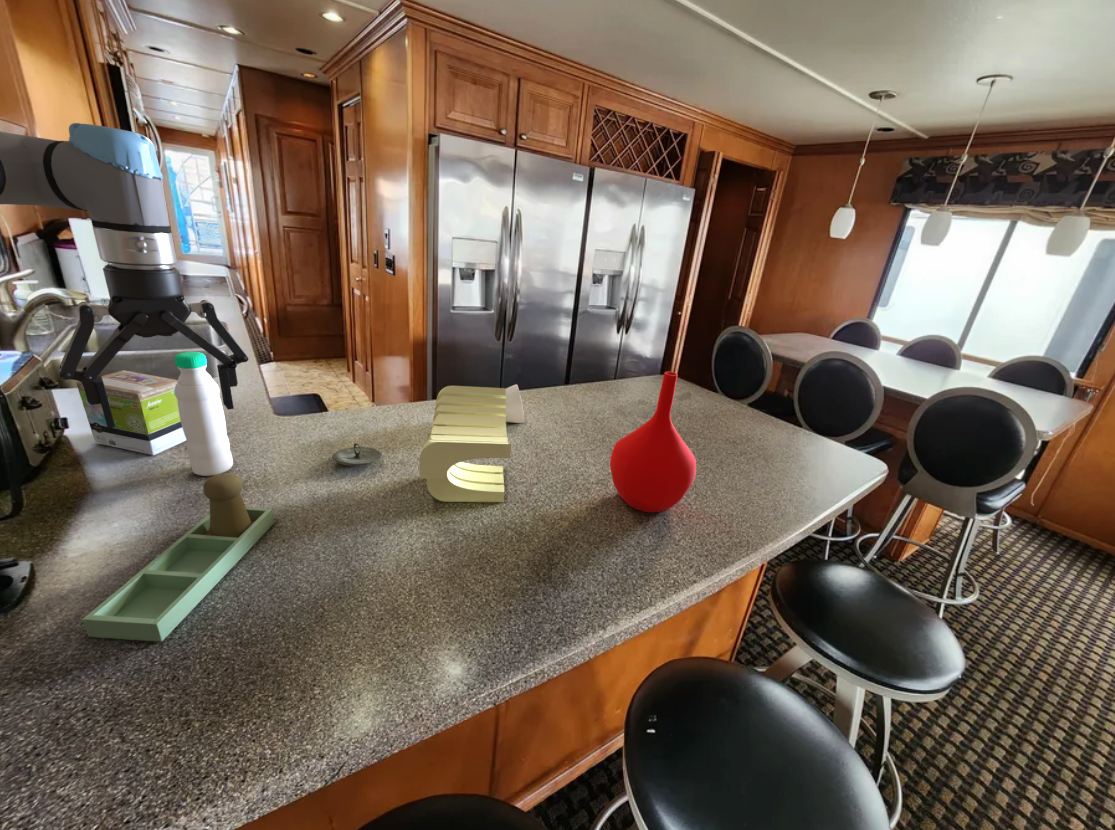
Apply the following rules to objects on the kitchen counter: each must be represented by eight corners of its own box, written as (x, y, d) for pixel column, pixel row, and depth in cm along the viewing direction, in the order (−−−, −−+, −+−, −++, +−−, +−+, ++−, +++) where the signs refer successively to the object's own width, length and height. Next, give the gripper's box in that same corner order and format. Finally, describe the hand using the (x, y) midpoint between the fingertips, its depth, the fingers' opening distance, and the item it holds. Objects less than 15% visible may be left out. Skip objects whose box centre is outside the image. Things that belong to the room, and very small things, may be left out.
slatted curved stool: (436, 452, 113) (437, 384, 106) (501, 454, 116) (505, 388, 109) (420, 526, 86) (419, 441, 79) (505, 526, 88) (511, 444, 82)
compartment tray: (88, 637, 58) (81, 619, 57) (223, 518, 82) (220, 504, 81) (161, 641, 59) (156, 624, 58) (274, 522, 83) (272, 508, 81)
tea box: (93, 445, 100) (73, 381, 95) (139, 427, 109) (123, 368, 104) (153, 456, 98) (136, 392, 93) (194, 438, 108) (182, 378, 102)
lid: (332, 479, 100) (331, 463, 97) (332, 449, 107) (331, 433, 104) (384, 475, 105) (384, 459, 102) (380, 447, 112) (380, 431, 109)
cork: (258, 534, 78) (248, 479, 74) (216, 549, 74) (203, 491, 70) (247, 518, 82) (237, 464, 78) (206, 531, 77) (193, 475, 73)
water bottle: (240, 468, 98) (219, 355, 88) (202, 481, 92) (175, 361, 83) (224, 457, 101) (202, 347, 92) (186, 469, 95) (158, 352, 86)
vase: (595, 509, 97) (616, 375, 86) (615, 472, 113) (635, 355, 102) (682, 534, 92) (716, 396, 81) (690, 491, 108) (719, 371, 97)
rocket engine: (453, 389, 128) (516, 378, 130) (458, 402, 139) (516, 392, 141) (460, 428, 125) (524, 416, 127) (464, 438, 136) (524, 427, 138)
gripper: (-9, 266, 49) (51, 444, 56) (259, 271, 66) (276, 407, 74) (-6, 257, 53) (49, 423, 61) (244, 264, 71) (262, 393, 78)
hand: (173, 415), depth 67 cm, fingers open, 13 cm apart
